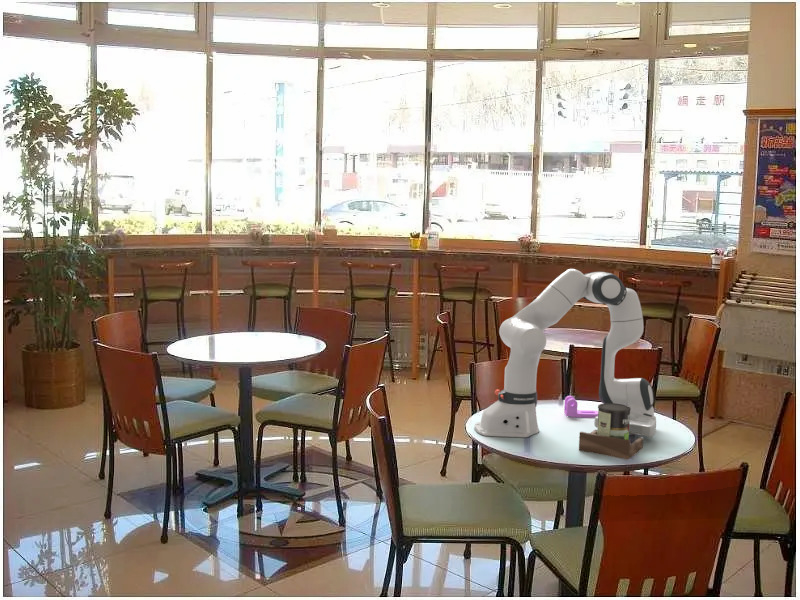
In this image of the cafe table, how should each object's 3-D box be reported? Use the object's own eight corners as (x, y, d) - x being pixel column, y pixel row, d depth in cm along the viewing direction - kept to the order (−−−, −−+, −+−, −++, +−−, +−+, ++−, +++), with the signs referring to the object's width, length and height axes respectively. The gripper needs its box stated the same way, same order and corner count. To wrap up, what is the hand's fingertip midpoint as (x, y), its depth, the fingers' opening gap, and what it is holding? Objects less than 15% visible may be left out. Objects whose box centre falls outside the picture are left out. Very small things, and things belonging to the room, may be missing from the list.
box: (594, 439, 283) (595, 422, 282) (642, 448, 274) (643, 430, 273) (578, 450, 270) (579, 432, 270) (628, 459, 261) (629, 441, 261)
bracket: (566, 417, 311) (567, 399, 310) (564, 413, 317) (564, 395, 316) (601, 418, 311) (602, 399, 310) (598, 414, 317) (599, 396, 316)
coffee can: (631, 447, 275) (634, 405, 273) (623, 455, 266) (626, 412, 264) (601, 442, 280) (603, 401, 278) (592, 450, 271) (594, 407, 269)
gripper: (602, 407, 293) (588, 416, 282) (660, 417, 282) (648, 426, 270) (601, 425, 294) (587, 434, 282) (659, 435, 283) (647, 445, 271)
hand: (617, 430), depth 276 cm, fingers closed, pressing on coffee can
